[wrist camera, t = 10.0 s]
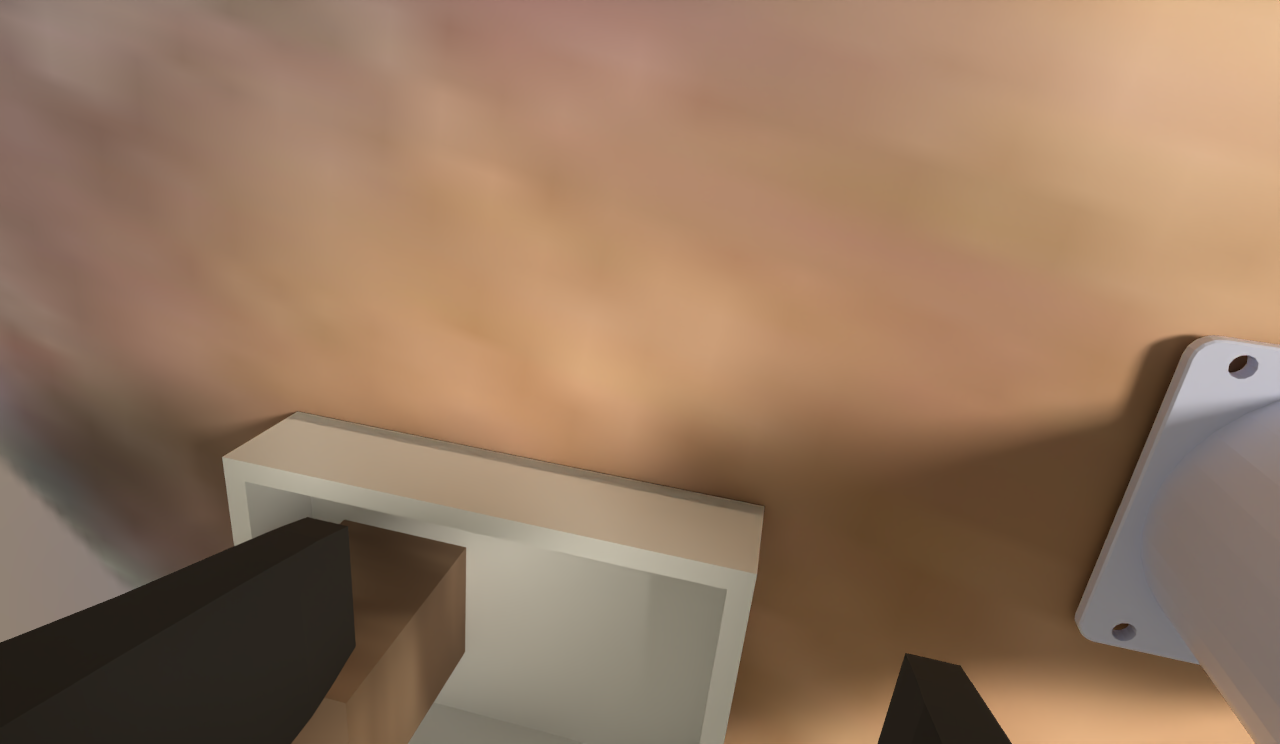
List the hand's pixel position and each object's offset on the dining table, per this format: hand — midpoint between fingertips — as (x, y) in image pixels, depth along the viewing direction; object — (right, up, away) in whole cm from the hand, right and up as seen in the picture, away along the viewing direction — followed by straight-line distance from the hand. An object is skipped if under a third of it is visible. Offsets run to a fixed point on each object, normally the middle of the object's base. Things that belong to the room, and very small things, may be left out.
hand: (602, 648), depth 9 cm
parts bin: (-4, -4, +13) cm, 14 cm away
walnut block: (-7, -3, +13) cm, 15 cm away
